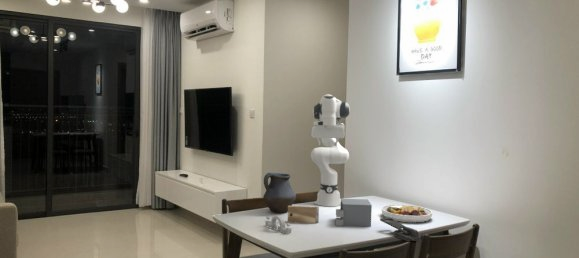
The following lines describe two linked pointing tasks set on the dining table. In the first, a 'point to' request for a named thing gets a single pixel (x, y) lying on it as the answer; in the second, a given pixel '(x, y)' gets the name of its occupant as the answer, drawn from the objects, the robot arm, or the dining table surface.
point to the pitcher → (278, 192)
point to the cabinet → (354, 212)
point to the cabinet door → (303, 214)
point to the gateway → (281, 227)
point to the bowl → (407, 213)
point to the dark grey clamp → (402, 230)
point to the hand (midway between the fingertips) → (327, 145)
